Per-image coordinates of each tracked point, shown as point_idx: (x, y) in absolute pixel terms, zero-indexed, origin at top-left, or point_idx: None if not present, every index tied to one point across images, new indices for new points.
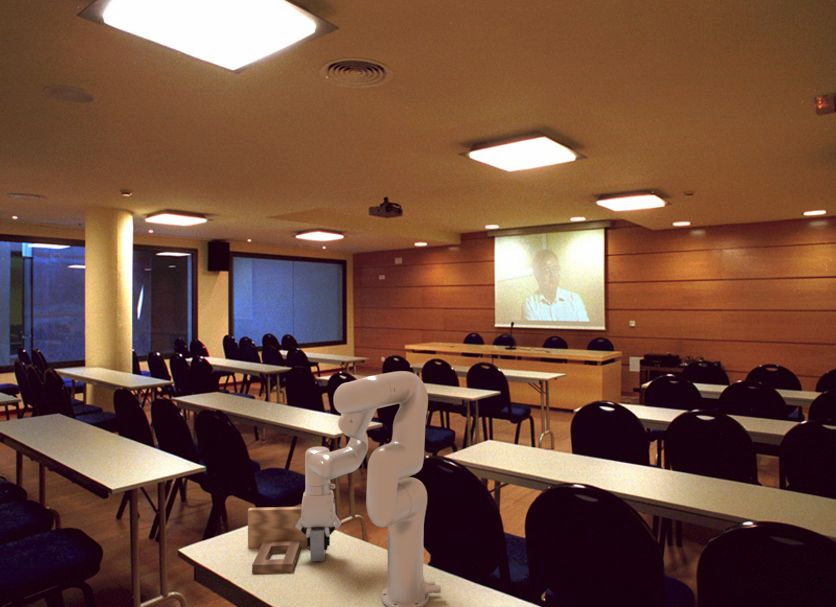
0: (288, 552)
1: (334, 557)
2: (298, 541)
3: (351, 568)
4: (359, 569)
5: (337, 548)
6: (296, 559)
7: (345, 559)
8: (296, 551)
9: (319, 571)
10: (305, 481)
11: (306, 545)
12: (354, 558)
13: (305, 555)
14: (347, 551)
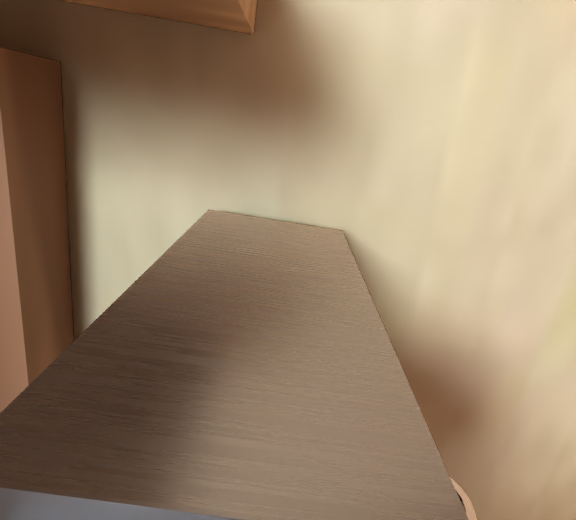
0: None
1: (397, 320)
2: None
3: (484, 484)
4: (531, 503)
5: (462, 147)
6: (69, 303)
7: (478, 368)
8: (22, 333)
9: None
10: None
11: (118, 9)
12: (553, 367)
13: (140, 232)
14: (539, 235)
